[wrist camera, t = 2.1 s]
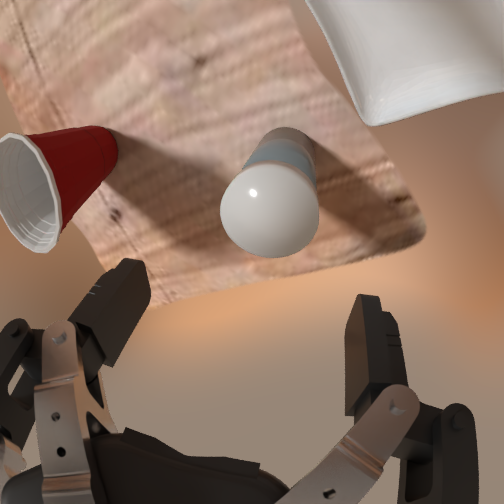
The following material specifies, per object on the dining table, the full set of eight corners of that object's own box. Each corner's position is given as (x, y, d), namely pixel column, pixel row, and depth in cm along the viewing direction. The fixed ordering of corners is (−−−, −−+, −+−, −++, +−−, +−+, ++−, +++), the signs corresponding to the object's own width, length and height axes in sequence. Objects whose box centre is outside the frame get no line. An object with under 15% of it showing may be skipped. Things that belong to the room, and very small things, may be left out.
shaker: (257, 123, 23) (219, 165, 14) (319, 130, 23) (326, 176, 13) (255, 178, 26) (221, 251, 17) (312, 185, 26) (311, 263, 16)
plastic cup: (91, 81, 23) (-2, 108, 13) (156, 149, 26) (77, 204, 17) (52, 151, 28) (-21, 195, 18) (106, 210, 32) (42, 272, 22)
